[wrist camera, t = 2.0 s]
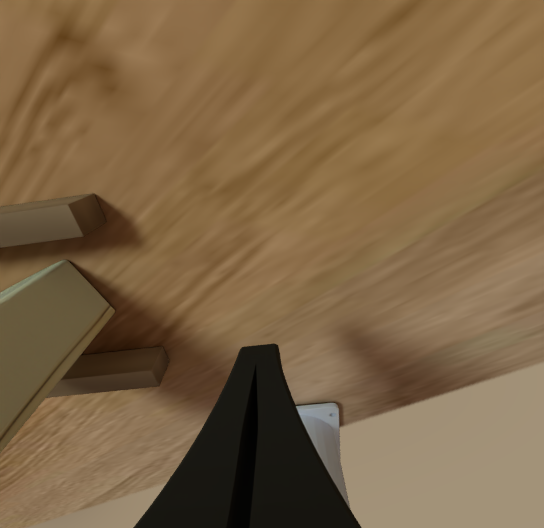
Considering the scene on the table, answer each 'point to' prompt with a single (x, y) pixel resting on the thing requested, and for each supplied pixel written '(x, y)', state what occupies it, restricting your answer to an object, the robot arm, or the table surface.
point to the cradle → (69, 224)
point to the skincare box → (43, 338)
